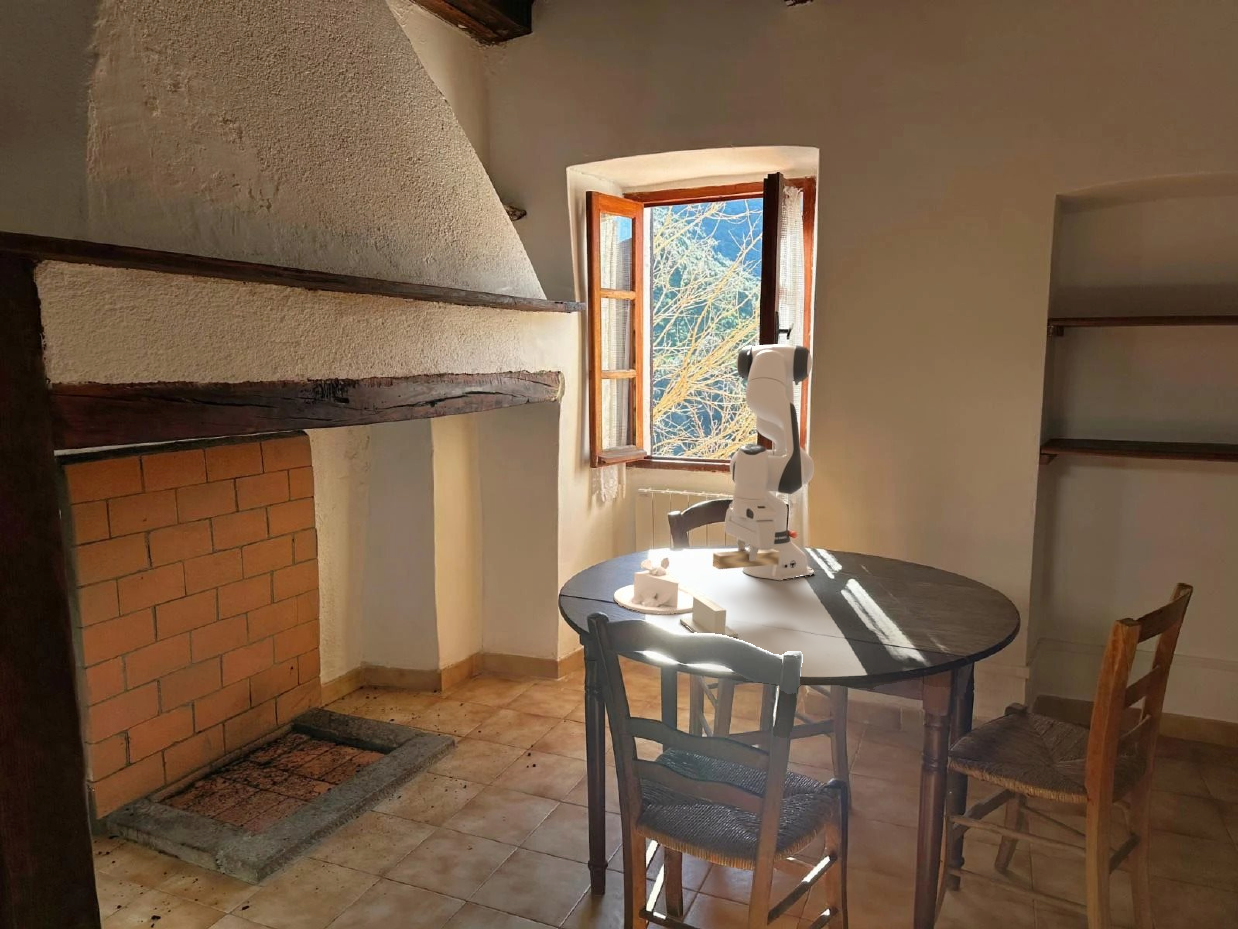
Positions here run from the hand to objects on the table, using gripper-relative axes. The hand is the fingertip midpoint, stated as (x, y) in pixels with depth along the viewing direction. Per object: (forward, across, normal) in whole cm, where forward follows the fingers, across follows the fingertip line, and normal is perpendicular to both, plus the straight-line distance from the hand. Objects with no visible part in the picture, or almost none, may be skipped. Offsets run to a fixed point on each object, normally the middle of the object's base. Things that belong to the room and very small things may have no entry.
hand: (746, 558), depth 219 cm
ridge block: (+15, +10, -16) cm, 24 cm away
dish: (+15, -16, -18) cm, 29 cm away
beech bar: (+2, 0, 0) cm, 2 cm away
